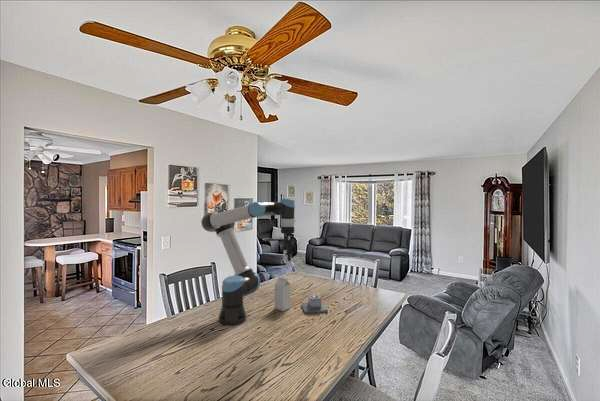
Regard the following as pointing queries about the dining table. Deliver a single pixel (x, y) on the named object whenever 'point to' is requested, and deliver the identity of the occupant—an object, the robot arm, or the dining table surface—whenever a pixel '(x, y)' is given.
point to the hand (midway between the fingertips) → (287, 263)
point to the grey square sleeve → (314, 302)
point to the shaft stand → (314, 310)
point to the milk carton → (282, 294)
